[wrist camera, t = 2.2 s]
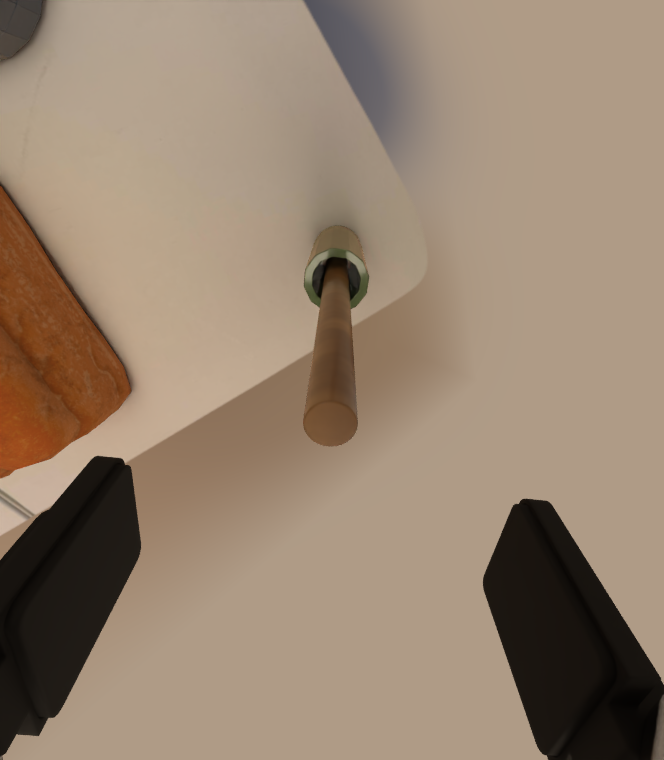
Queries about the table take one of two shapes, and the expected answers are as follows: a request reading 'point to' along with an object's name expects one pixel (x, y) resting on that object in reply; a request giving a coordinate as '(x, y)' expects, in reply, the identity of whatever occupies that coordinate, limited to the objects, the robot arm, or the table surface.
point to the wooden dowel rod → (332, 363)
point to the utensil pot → (343, 246)
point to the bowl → (17, 24)
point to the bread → (46, 355)
